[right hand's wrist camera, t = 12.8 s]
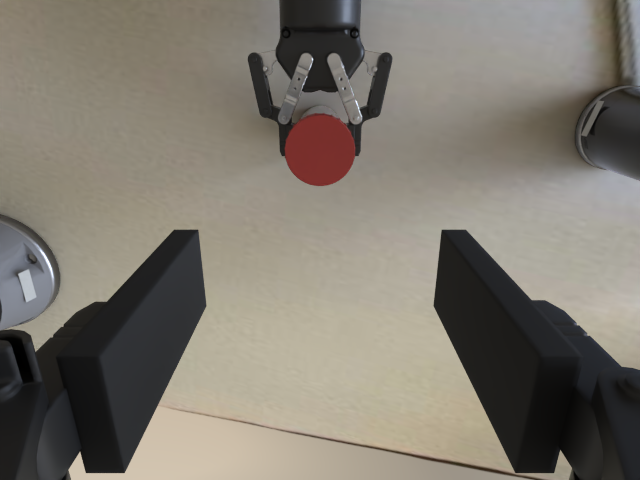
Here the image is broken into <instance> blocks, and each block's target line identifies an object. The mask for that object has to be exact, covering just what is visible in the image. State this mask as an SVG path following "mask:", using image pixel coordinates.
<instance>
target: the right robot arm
mask: <svg viewBox="0 0 640 480" xmlns="http://www.w3.org/2000/svg"><path fill="white" fill-rule="evenodd" d="M59 286H60V273H59V268H58V264H57V262H56V259H55V257H54V255H53V253H52V251H51V250H50V248H49V247H48V245H47V244H46V243H45V242H44V241H43V239H42V238H41V237H40V236H39V235H38V234H36V233H35V232H34V231H33V230H31V229H30V228H29V227H27V226H26V225H24V224H22V223H21V222H19V221H17V220H14V219H12V218H9V217H6V216H3V215H0V480H71V478H70V474H69V471H68V469H69V468H70V466H71V465H72V463H73V461H74V460H75V458H76V457H77V455H78V454H79V452H81V456H82V460H83V464H84V467H85V471H86V473H125V471H126V469H127V467H128V465H129V463H130V461H131V459H132V457H133V455H134V453H135V451H136V448H137V447H138V444H139V442H140V440H141V438H142V436H143V434H144V432H145V430H146V428H147V426H148V424H149V422H150V420H151V418H152V416H153V414H154V412H155V410H156V408H157V406H158V404H159V402H160V400H161V397H162V395H163V393H164V391H165V389H166V387H167V385H168V383H169V381H170V379H171V377H172V375H173V373H174V371H175V369H176V367H177V365H178V363H179V361H180V359H181V357H182V355H183V353H184V350H185V348H186V346H187V344H188V342H189V340H190V338H191V336H192V334H193V332H194V330H195V328H196V326H197V324H198V322H199V320H200V318H201V316H202V314H203V312H204V310H205V308H206V298H205V289H204V279H203V270H202V261H201V251H200V242H199V232H198V230H174V231H173V232H172V233H171V234H170V235H169V236H168V237H167V238H166V239H165V240H164V241H163V242H162V243H161V244H160V246H159V247H158V248H157V249H156V250H155V251H154V252H153V253H152V254H151V255H150V256H149V257H148V258H147V259H146V261H145V262H144V263H143V264H142V265H141V266H140V267H139V268H138V269H137V270H136V271H135V272H134V273H133V274H132V276H131V277H130V278H129V279H128V280H127V281H126V282H125V283H124V284H123V285H122V286H121V287H120V288H119V289H118V290H117V292H116V293H115V294H114V295H113V296H112V297H111V298H110V299H109V300H108V301H107V302H94V303H92V304H90V305H89V306H87V307H85V308H83V309H81V310H80V311H78V312H76V313H75V314H74V315H73V316H72V317H71V318H70V319H69V320H68V321H67V322H66V323H65V324H64V327H61V328H60V329H59V330H58V331H57V332H56V333H55V334H54V335H53V338H50V339H49V340H48V341H47V342H46V343H45V344H43V345H42V346H41V347H40V348H39V349H38V350H37V351H36V352H35V349H34V346H33V342H32V338H31V335H29V334H28V333H26V332H25V331H20V330H13V329H10V330H4V329H7V328H9V327H13V326H17V325H20V324H24V323H27V322H29V321H31V320H33V319H35V318H36V317H38V316H39V315H40V314H41V313H42V312H44V311H45V310H46V309H47V308H48V307H49V306H50V305H51V304H52V303H53V301H54V300H55V298H56V296H57V294H58V291H59ZM434 308H435V310H436V312H437V314H438V316H439V318H440V320H441V322H442V324H443V326H444V328H445V330H446V332H447V334H448V336H449V338H450V340H451V342H452V344H453V346H454V348H455V350H456V353H457V355H458V357H459V359H460V361H461V363H462V365H463V367H464V369H465V371H466V373H467V375H468V377H469V379H470V381H471V383H472V385H473V387H474V389H475V391H476V393H477V395H478V397H479V400H480V402H481V404H482V406H483V408H484V410H485V412H486V414H487V416H488V418H489V420H490V422H491V424H492V426H493V428H494V430H495V432H496V434H497V436H498V438H499V440H500V442H501V444H502V447H503V449H504V451H505V453H506V455H507V457H508V459H509V461H510V463H511V465H512V467H513V469H514V471H515V473H554V471H555V467H556V464H557V460H558V456H559V452H560V450H561V451H562V453H563V454H564V456H565V457H566V459H567V461H568V462H569V464H570V465H571V467H572V471H571V474H570V478H569V480H640V370H637V369H634V368H627V367H621V366H620V365H619V364H618V363H617V362H616V361H615V360H614V359H613V358H612V357H611V356H610V355H609V354H608V353H607V352H606V351H605V350H604V349H603V348H602V347H601V346H600V345H599V344H598V343H597V342H596V341H595V340H594V339H592V338H591V337H590V336H587V333H586V332H585V331H584V330H583V329H582V328H581V327H580V326H577V323H576V322H575V321H574V320H573V319H572V318H571V317H570V316H569V315H568V314H567V313H566V312H565V311H563V310H562V309H560V308H558V307H556V306H554V305H553V304H551V303H549V302H547V301H545V300H531V299H530V298H529V297H528V296H527V295H526V294H525V293H524V292H523V290H522V289H521V288H520V287H519V286H518V285H517V284H516V283H515V282H514V281H513V280H512V279H511V278H510V277H509V276H508V274H507V273H506V272H505V271H504V270H503V269H502V268H501V267H500V266H499V265H498V264H497V263H496V262H495V261H494V259H493V258H492V257H491V256H490V255H489V254H488V253H487V252H486V251H485V250H484V249H483V248H482V247H481V246H480V244H479V243H478V242H477V241H476V240H475V239H474V238H473V237H472V236H471V235H470V234H469V233H468V232H467V231H466V230H442V232H441V242H440V251H439V261H438V270H437V279H436V289H435V298H434Z"/></svg>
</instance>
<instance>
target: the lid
mask: <svg viewBox="0 0 640 480" xmlns="http://www.w3.org/2000/svg"><path fill="white" fill-rule="evenodd" d="M288 134H289V135H288V137H287V138H286V144H285V148H284V150H285V158H286V161H287V164H288V166H289V168H290V170H291V171H292V173H293V174H294V175H295V176H296V177H297V178H299V179H300V180H301V181H303V182H305V183H307V184H310V185H315V186H325V185H330V184H333V183H335V182H337V181H339V180H340V179H341V178H343V177H344V176H345V175H346V174H347V172H348V171H349V170H350V168H351V166H352V164H353V161H354V157H355V149H356V147H355V144H354V138H353V137H352V135H351V131H350V129H348V128H347V127H346V124H345V123H343V122H342V121H341V120H340V118H336V117H334V116H333V115H332V114H331V115H329V114H324V112H323V113H315V114H311V115H307V116H306V117H304V118H302V119H301V118H300V120H299V121H298V122H297V123H296V124H294V125H293V128H292V129H291V130H290V131H289V133H288Z"/></svg>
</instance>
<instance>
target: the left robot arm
mask: <svg viewBox="0 0 640 480" xmlns="http://www.w3.org/2000/svg"><path fill="white" fill-rule="evenodd" d="M279 3H280V40H279V43H278V45H277V47H276V50H274V51H269V52H264V53H251V54H250V55H249V56H248V63H249V67H250V72H251V76H252V81H253V85H254V90H255V94H256V99H257V103H258V108H259V112H260V115H261V116H262V117H264V118H269V119H272V120H275V121H276V122H277V123H278V125H279V137H280V152H281V155H282V156H285V150H284V148H285V144H286V138H287V137H288V135H289V134H288V133H289V131H290V130H291V129H292V128H293V125H294V123H292V115H293V112H294V110H295V107H296V105H297V102H298V100H299V97H300V95H301V92H302V91H304V92H315V91H318V90H322V91H325V92H337V91H338V92H339V95H340V97H341V100H342V102H343V105H344V107H345V110H346V112H347V115H348V117H349V123H347V125H346V127H347V128H348V129H350V131H351V135H352V137H353V138H354V144H355V147H356V149H355V156H359V153H360V150H361V126H362V124H363V122H364V121H366V120H368V119H371V118H375V117H378V116H379V115H380V112H381V108H382V103H383V99H384V95H385V90H386V86H387V81H388V77H389V72H390V68H391V64H392V56H391V54H390V53H382V54H380V53H375V52H370V51H365V50H364V47H363V45H362V43H361V39H360V14H361V0H279ZM276 61H278V62H279V63H280V65H281V66H282V68H283V69H284V70H285V72H286V73H287V75H288V76H289V78H290V79H291V83H290V86H289V88H288V91H287V93H286V96H285V99H284V102H283V105H282V107H281V108H279V107H277V106H274V105H273V101H272V97H271V92H270V87H269V82H268V78H267V76H268V75H270V74H272V72H273V64H274V63H275V62H276ZM362 61H364V62H365V63H366V64H367V72H368V74H369V75H371V76H373V78H372V83H371V88H370V92H369V97H368V102H367V105H366V106H364V107H361V108H359V107H358V105H357V102H356V99H355V96H354V93H353V91H352V88H351V86H350V83H349V79H350V78H351V76H352V75H353V74H354V72H355V71H356V69H357V68H358V66H359V65H360V64H361V62H362ZM296 88H297V89H296ZM343 88H344V89H343ZM575 141H576V146H577V149H578V152H579V153H580V155H581V157H582V158H583V159H584V160H585V161H586V162H588V163H589V164H591V165H593V166H595V167H598V168H601V169H605V170H610V171H613V172H615V173H618V174H621V175H624V176H627V177H630V178H633V179H636V180H639V181H640V86H629V85H625V86H618V87H614V88H611V89H609V90H606V91H605V92H603V93H601V94H600V95H598V96H597V97H596V98H594V99H593V100H592V101H591V102H590V103H589V104H588V106H587V107H586V108H585V109H584V111H583V113H582V114H581V116H580V118H579V121H578V124H577V127H576V133H575Z"/></svg>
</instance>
